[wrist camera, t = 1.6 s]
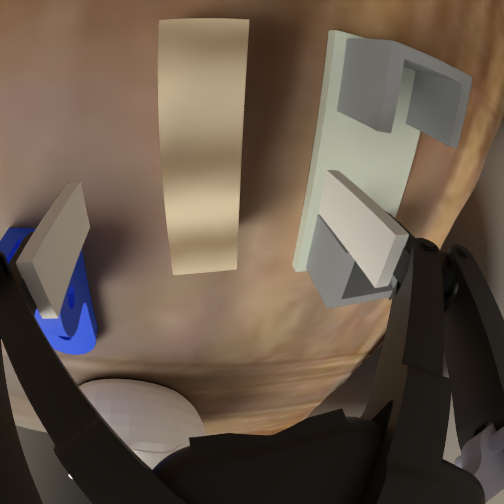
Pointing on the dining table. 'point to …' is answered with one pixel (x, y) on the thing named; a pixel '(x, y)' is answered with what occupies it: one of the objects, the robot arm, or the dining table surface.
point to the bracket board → (371, 144)
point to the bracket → (73, 308)
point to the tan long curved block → (202, 138)
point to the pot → (145, 416)
